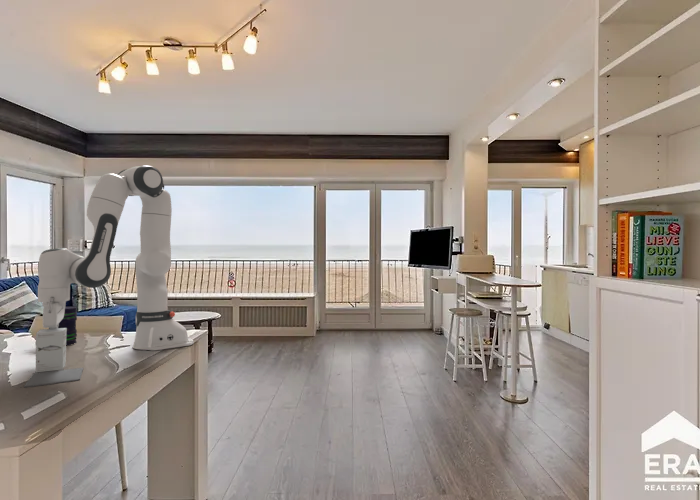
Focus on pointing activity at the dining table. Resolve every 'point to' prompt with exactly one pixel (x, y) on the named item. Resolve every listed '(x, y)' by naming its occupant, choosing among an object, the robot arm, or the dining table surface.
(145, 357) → the dining table surface
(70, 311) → the storage jar
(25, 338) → the dining table surface
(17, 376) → the dining table surface
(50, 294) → the robot arm
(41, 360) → the supplement box
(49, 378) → the mat
